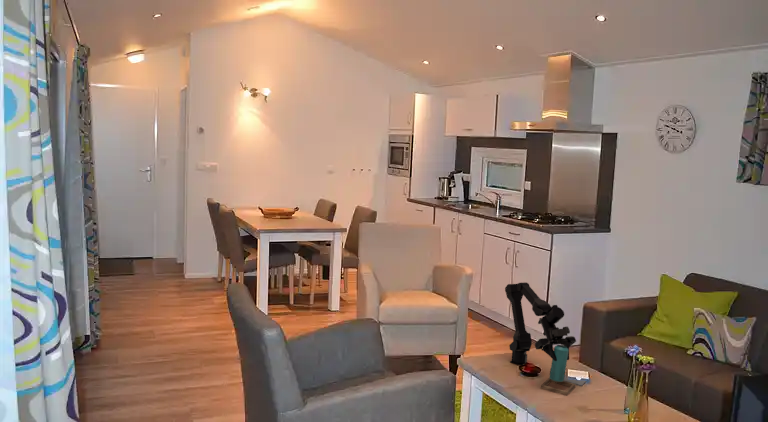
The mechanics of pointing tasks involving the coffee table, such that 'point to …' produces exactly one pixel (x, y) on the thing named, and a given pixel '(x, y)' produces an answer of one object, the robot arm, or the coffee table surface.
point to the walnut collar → (571, 387)
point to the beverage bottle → (559, 361)
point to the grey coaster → (574, 381)
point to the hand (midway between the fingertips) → (562, 360)
